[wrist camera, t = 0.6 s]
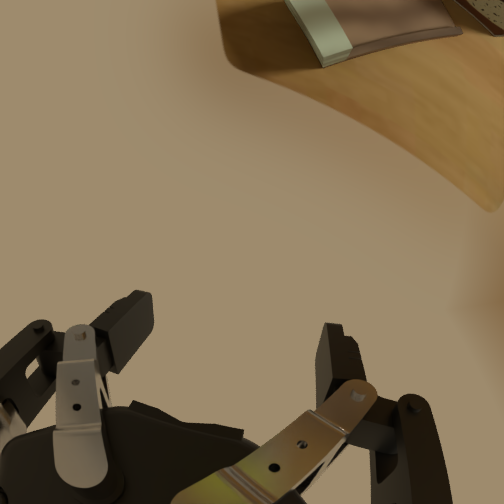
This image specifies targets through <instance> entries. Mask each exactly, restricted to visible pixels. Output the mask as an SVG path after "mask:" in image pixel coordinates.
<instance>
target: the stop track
mask: <svg viewBox="0 0 504 504" xmlns="http://www.w3.org/2000/svg"><path fill="white" fill-rule="evenodd" d="M284 1H285V3H286V5H287V7H288V8H289V10H290V11H291V13H292V14H293V16H294V18H295V19H296V21H297V22H298V24H299V26H300V27H301V29H302V31H303V32H304V34H305V36H306V38H307V39H308V41H309V43H310V45H311V46H312V48H313V50H314V52H315V54H316V56H317V57H318V59H319V61H320V63H321V65H322V67H323V68H325V67H328V66H331V65H334V64H337V63H340V62H343V61H346V60H349V59H353V58H356V57H359V56H363V55H366V54H370V53H373V52H377V51H381V50H385V49H389V48H393V47H397V46H402V45H406V44H411V43H416V42H421V41H427V40H433V39H439V38H446V37H454V36H458V35H461V34H463V32H462V30H461V28H460V27H455V25H454V23H453V21H452V19H451V17H450V15H449V13H448V11H447V10H446V8H445V6H444V4H443V3H442V1H441V0H284Z"/></svg>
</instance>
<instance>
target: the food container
mask: <svg viewBox="0 0 504 504" xmlns="http://www.w3.org/2000/svg"><path fill="white" fill-rule="evenodd" d="M453 1H455V2H456V3H457V4H458V5H460V6H461V7H462V8H463V9H465V10H466V11H467V12H468V13H469V14H471V15H472V16H473V17H474V18H475V19H476V20H477V21H479V22H480V23H481V24H482V25H483V26H484V27H485V28H486V29H487V30H488V31H489V32H490V33H491V34H492V35H493V36H494V37H503V36H504V0H453Z"/></svg>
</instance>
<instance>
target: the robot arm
mask: <svg viewBox="0 0 504 504" xmlns="http://www.w3.org/2000/svg"><path fill="white" fill-rule="evenodd" d="M153 326H154V315H153V303H152V295H151V294H150V293H149V292H144V291H139V290H135V291H133V292H132V293H131V294H130V295H129V296H128V297H124V298H122V299H120V300H117V301H115V302H114V303H113V304H112V305H111V306H110V308H107V309H106V310H105V312H103V313H102V314H101V315H100V316H99V317H97V318H96V319H95V320H94V321H93V322H92V323H91V324H89V325H85V324H80V325H75V326H72V327H71V328H69V329H68V330H67V331H66V333H64V332H56V331H53V327H52V324H51V323H50V322H49V321H47V320H36V321H34V322H32V323H30V324H29V325H28V326H26V327H25V328H24V329H23V330H22V331H20V332H19V333H18V334H17V335H16V336H15V337H14V338H12V339H11V340H10V341H9V342H8V343H7V344H6V345H4V346H3V347H2V348H1V349H0V504H307V503H306V502H305V501H304V500H303V498H302V497H301V495H302V494H303V493H305V492H306V491H307V490H308V489H309V488H310V487H311V486H312V485H313V484H314V483H315V482H316V481H317V480H318V478H319V477H320V476H321V475H322V474H323V473H324V472H325V471H326V469H327V468H328V467H329V466H330V465H331V464H332V463H333V462H334V461H335V460H336V459H337V458H338V457H339V456H340V454H341V453H342V452H343V451H344V450H345V449H346V448H347V447H348V445H349V444H351V445H354V446H358V447H361V448H365V449H369V451H370V470H371V471H370V472H371V504H453V502H452V495H451V490H450V484H449V479H448V474H447V469H446V465H445V460H444V456H443V451H442V447H441V443H440V440H439V436H438V432H437V429H436V425H435V421H434V419H433V415H432V412H431V408H430V406H429V404H428V402H427V401H426V400H425V399H424V398H423V397H421V396H419V395H416V394H406V395H403V396H402V397H400V399H399V400H398V402H396V401H393V400H389V399H385V398H382V397H380V396H378V395H377V391H376V389H375V388H374V387H373V386H372V385H371V384H370V383H368V382H367V380H366V375H365V371H364V367H363V363H362V360H361V355H360V351H359V347H358V344H357V343H356V341H355V340H354V339H353V338H352V337H351V336H344V332H343V327H342V325H341V324H334V323H325V324H324V327H323V330H322V334H321V338H320V341H319V345H318V349H317V353H316V359H315V369H316V410H315V411H314V412H313V411H312V410H307V411H306V412H304V413H303V414H302V415H301V416H300V417H298V418H297V419H296V420H295V421H293V422H292V423H291V424H290V425H289V426H287V427H286V428H285V429H283V430H282V431H281V432H280V433H279V434H277V435H276V436H274V437H273V438H272V439H270V440H269V441H268V442H266V443H265V444H264V445H262V446H261V447H260V446H258V445H257V444H255V443H253V442H251V441H250V440H247V439H245V438H243V434H244V430H243V429H237V428H232V427H227V426H222V425H218V424H204V423H186V422H182V421H179V420H178V419H176V418H174V417H172V416H170V415H168V414H167V413H165V412H163V411H161V410H160V409H158V408H155V407H152V406H148V405H146V404H143V403H140V402H137V401H134V400H133V401H132V403H131V404H130V406H129V407H124V406H117V407H112V403H111V398H110V392H109V386H108V379H107V376H106V374H107V373H108V371H110V372H113V373H116V374H119V373H120V371H121V370H122V369H123V368H124V366H125V365H126V364H127V362H128V361H129V360H130V359H131V357H132V356H133V355H134V354H135V352H136V351H137V350H138V348H139V347H140V346H141V345H142V343H143V342H144V341H145V340H146V338H147V337H148V336H149V334H150V333H151V332H152V329H153ZM35 358H36V359H37V362H38V364H39V367H38V368H37V369H36V370H35V371H34V372H33V373H32V374H31V375H30V377H29V378H28V379H27V378H26V376H25V371H26V368H27V367H28V366H29V364H30V363H31V362H32V361H33V360H34V359H35ZM55 391H56V425H53V426H50V427H47V428H43V429H40V430H36V431H33V432H29V433H26V432H27V428H28V426H29V425H30V424H31V422H32V421H33V420H34V418H35V417H36V416H37V414H38V413H39V412H40V410H41V409H42V408H43V406H44V405H45V404H46V403H47V401H48V400H49V399H50V398H51V396H52V395H53V394H54V392H55Z"/></svg>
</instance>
